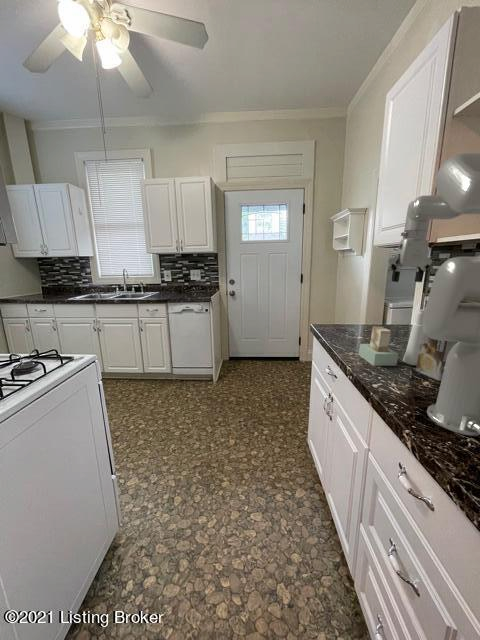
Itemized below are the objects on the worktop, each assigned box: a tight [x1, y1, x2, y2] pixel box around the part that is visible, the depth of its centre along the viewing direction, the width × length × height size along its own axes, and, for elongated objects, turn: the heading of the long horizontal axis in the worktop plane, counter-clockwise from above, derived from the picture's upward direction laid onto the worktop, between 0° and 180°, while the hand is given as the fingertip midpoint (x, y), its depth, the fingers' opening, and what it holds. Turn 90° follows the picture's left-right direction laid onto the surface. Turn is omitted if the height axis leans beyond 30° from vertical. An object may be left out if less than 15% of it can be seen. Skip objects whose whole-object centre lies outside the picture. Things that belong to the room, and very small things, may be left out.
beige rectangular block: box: [369, 326, 392, 352], centre depth 108 cm, size 6×4×12 cm, turn 4°
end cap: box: [358, 343, 399, 367], centre depth 110 cm, size 12×10×5 cm
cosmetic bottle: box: [402, 309, 425, 366], centre depth 106 cm, size 6×6×22 cm
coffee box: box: [415, 331, 457, 382], centre depth 96 cm, size 9×6×16 cm
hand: (406, 281), depth 104 cm, fingers open, 9 cm apart
